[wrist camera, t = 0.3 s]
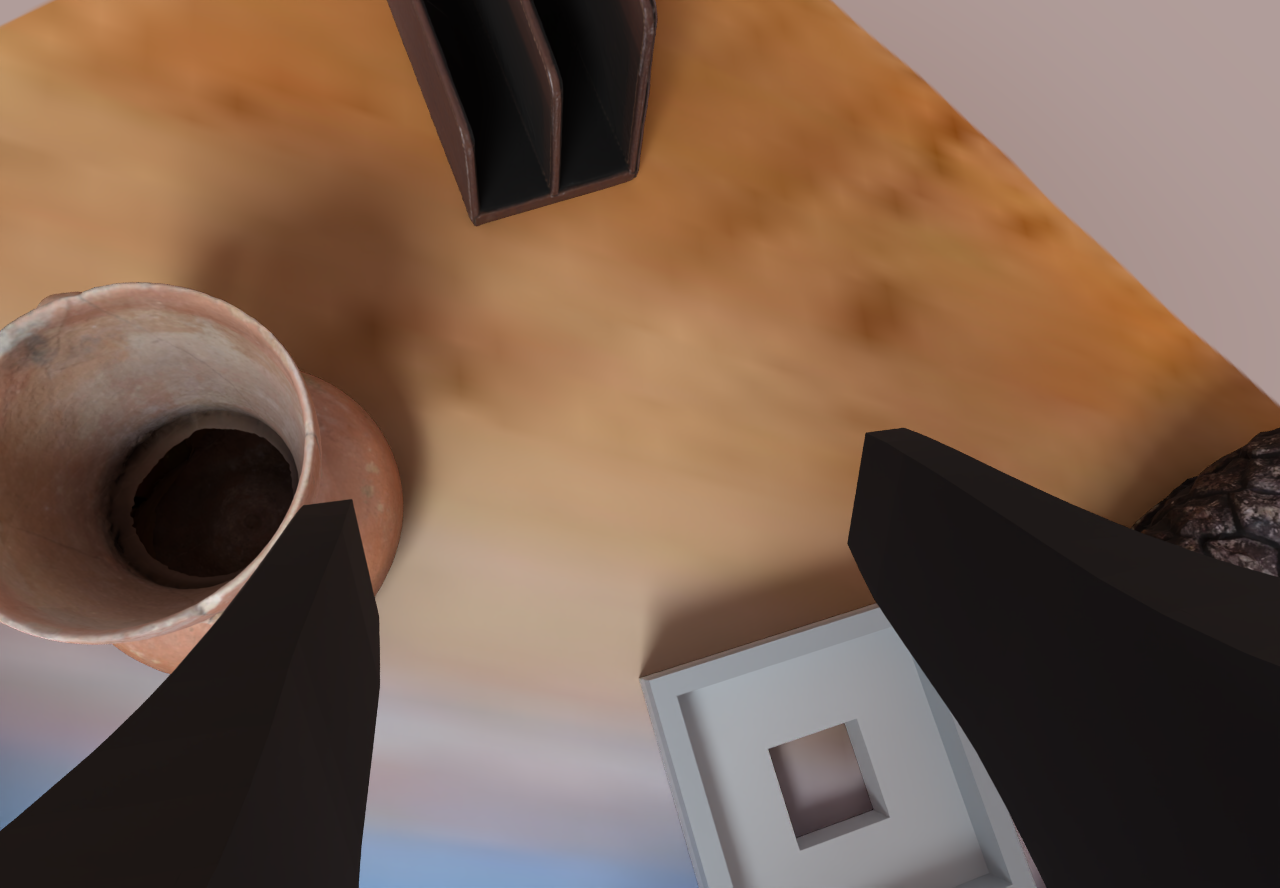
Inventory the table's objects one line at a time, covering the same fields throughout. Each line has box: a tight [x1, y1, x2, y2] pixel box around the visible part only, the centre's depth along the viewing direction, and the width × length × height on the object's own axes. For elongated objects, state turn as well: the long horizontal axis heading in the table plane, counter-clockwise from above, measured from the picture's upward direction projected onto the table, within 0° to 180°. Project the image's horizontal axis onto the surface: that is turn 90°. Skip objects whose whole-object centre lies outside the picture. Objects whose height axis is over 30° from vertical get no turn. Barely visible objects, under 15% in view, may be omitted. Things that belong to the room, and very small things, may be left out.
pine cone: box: [1131, 428, 1280, 577], centre depth 41 cm, size 10×18×10 cm, turn 129°
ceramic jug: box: [0, 282, 403, 674], centre depth 34 cm, size 18×14×14 cm
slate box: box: [639, 603, 1037, 888], centre depth 38 cm, size 14×14×4 cm
